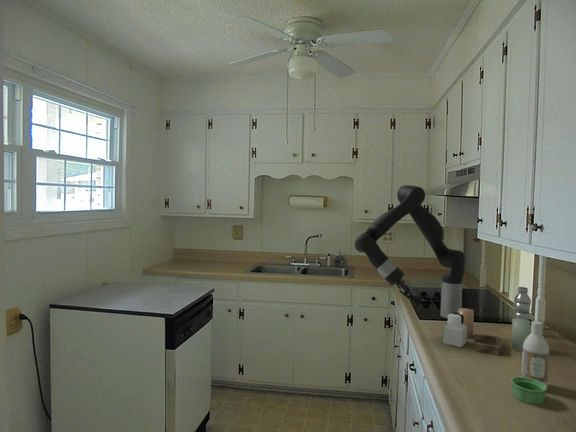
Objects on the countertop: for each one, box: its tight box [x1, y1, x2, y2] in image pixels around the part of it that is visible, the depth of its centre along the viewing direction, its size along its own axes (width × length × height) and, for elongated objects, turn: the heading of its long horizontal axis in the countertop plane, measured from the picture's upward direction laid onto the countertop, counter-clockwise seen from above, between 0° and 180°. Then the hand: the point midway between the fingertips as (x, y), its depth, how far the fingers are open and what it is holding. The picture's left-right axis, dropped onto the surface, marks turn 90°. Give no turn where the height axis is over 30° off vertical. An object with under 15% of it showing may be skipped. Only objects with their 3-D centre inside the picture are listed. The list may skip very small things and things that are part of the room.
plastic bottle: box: [513, 286, 532, 321], centre depth 171 cm, size 6×7×20 cm
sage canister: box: [510, 317, 531, 352], centre depth 154 cm, size 6×6×11 cm
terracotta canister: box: [458, 307, 475, 339], centre depth 167 cm, size 6×6×11 cm
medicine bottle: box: [442, 312, 468, 348], centre depth 158 cm, size 7×7×12 cm
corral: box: [474, 333, 504, 357], centre depth 154 cm, size 9×13×3 cm, turn 158°
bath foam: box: [521, 320, 550, 388], centre depth 123 cm, size 7×7×20 cm
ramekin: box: [510, 376, 548, 406], centre depth 115 cm, size 9×9×4 cm
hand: (419, 303), depth 163 cm, fingers closed
